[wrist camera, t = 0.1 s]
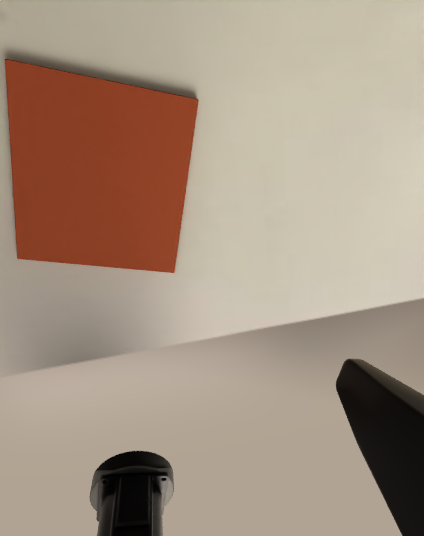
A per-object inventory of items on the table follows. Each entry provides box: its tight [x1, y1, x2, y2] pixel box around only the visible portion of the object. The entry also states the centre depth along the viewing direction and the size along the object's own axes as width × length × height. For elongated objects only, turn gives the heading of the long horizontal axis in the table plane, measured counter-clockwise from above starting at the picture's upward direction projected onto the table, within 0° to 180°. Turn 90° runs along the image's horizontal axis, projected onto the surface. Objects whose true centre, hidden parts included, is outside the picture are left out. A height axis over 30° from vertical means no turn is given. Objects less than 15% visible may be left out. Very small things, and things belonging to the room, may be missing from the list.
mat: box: [5, 59, 198, 273], centre depth 20 cm, size 11×10×1 cm
